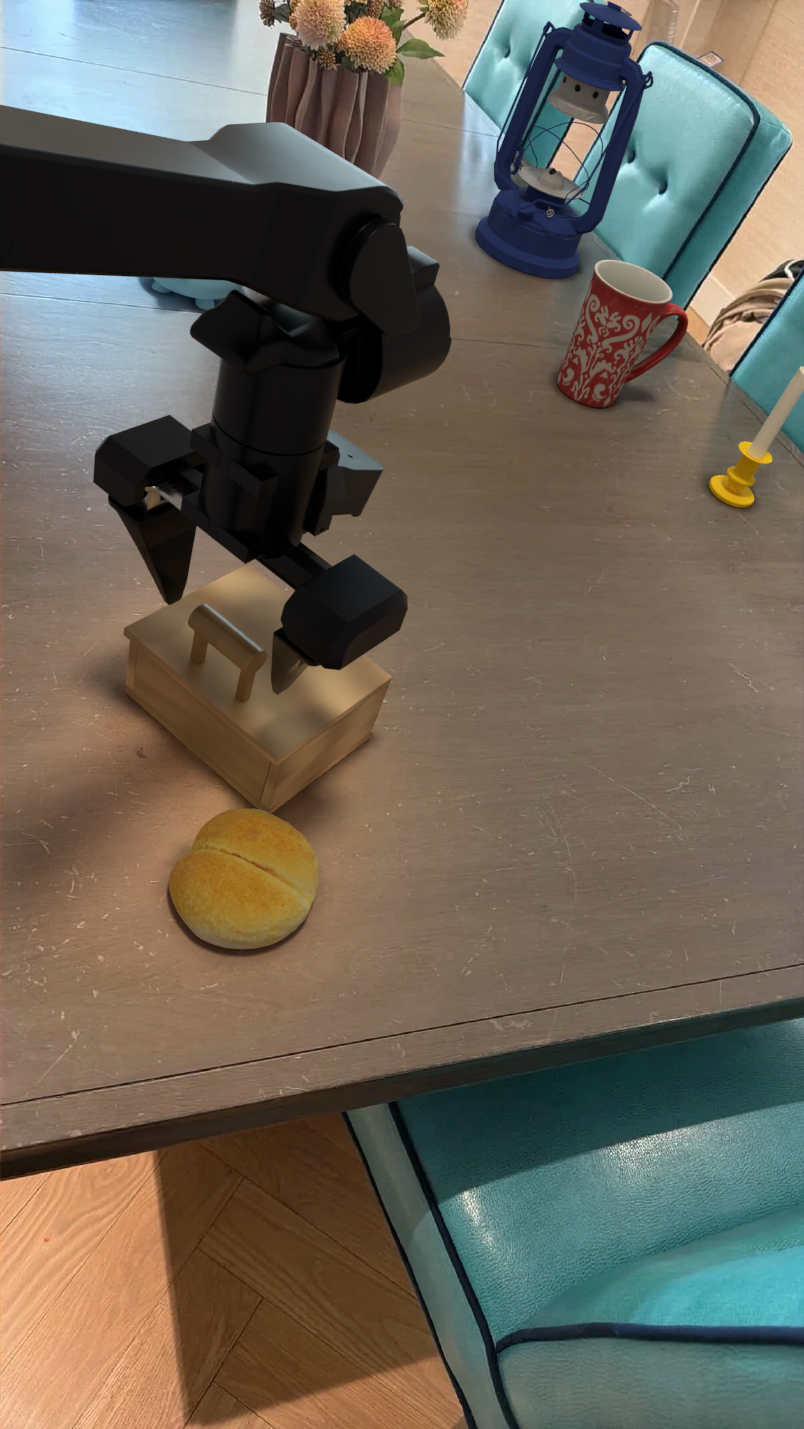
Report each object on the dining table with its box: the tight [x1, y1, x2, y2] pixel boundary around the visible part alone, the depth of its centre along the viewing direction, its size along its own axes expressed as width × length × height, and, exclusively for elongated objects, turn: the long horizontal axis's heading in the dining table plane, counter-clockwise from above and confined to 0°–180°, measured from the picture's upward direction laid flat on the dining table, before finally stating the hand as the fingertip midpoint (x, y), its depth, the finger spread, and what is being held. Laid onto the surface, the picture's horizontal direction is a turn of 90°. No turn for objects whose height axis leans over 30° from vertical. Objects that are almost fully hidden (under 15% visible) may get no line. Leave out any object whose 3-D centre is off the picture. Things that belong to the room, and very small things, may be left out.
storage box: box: [124, 640, 390, 814], centre depth 67 cm, size 11×14×6 cm
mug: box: [556, 259, 689, 408], centre depth 112 cm, size 13×9×14 cm
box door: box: [123, 563, 393, 765], centre depth 63 cm, size 11×14×5 cm
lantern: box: [474, 0, 655, 280], centre depth 129 cm, size 17×15×30 cm
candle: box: [708, 365, 804, 509], centre depth 104 cm, size 5×5×16 cm
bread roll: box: [168, 807, 320, 950], centre depth 59 cm, size 8×9×4 cm
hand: (225, 644), depth 60 cm, fingers open, 9 cm apart
